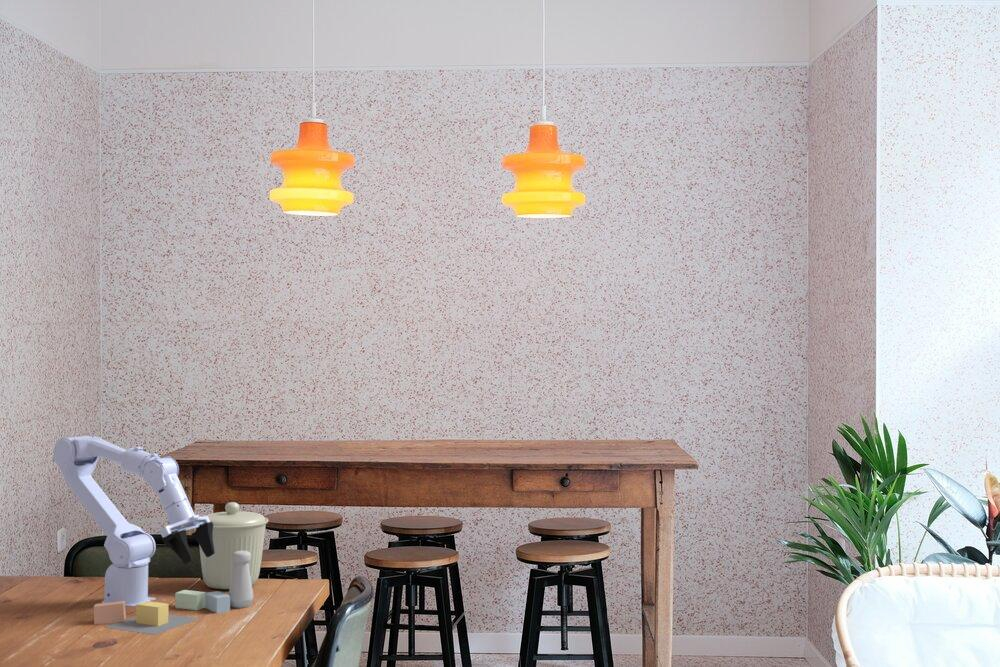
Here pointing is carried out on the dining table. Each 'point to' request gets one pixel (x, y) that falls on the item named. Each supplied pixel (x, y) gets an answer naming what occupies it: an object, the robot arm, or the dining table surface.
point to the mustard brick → (152, 613)
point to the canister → (233, 545)
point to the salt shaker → (241, 581)
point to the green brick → (190, 600)
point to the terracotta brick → (109, 612)
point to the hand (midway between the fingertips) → (200, 558)
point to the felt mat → (151, 629)
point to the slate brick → (217, 602)
